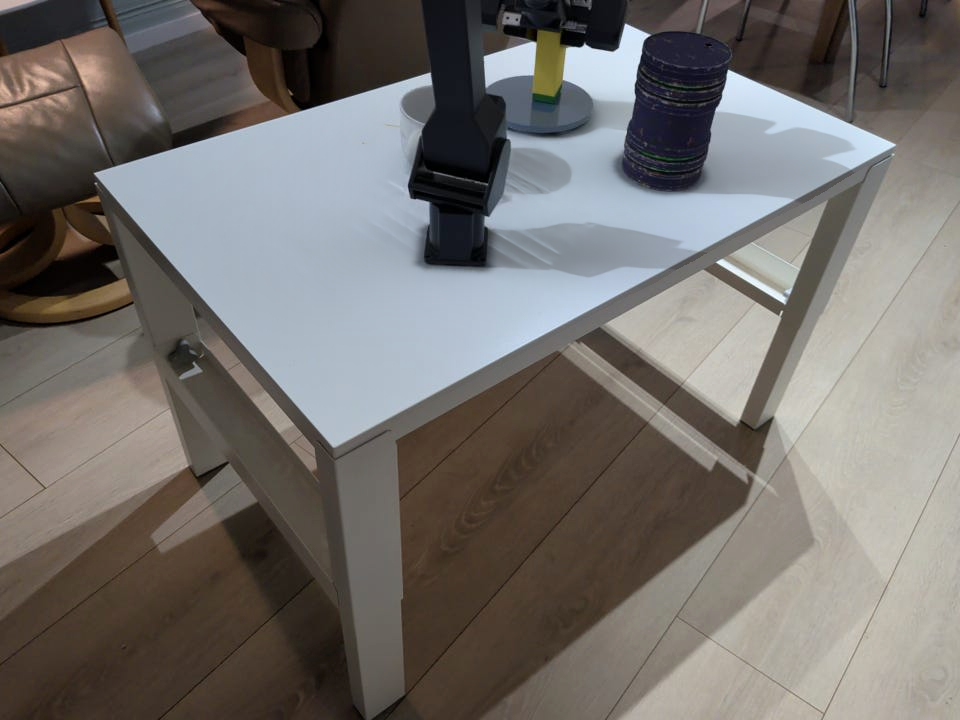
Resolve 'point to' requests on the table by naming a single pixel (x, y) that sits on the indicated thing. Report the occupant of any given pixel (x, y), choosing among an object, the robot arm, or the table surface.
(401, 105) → the teacup
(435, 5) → the robot arm
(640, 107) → the dark purple barrel
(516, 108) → the plate
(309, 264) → the table surface
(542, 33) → the yellow green tall block
